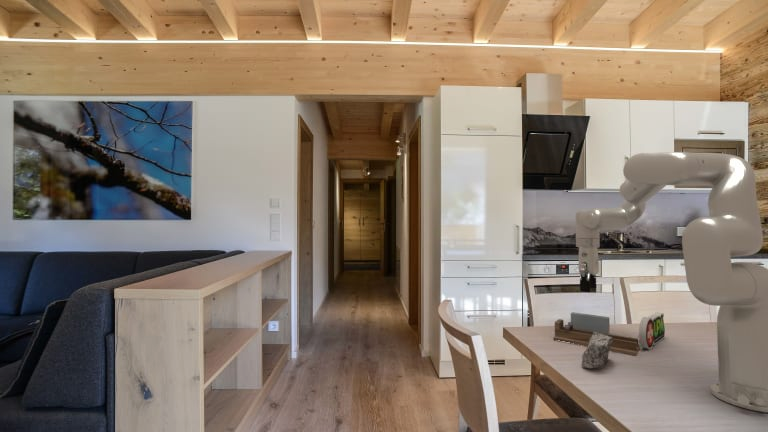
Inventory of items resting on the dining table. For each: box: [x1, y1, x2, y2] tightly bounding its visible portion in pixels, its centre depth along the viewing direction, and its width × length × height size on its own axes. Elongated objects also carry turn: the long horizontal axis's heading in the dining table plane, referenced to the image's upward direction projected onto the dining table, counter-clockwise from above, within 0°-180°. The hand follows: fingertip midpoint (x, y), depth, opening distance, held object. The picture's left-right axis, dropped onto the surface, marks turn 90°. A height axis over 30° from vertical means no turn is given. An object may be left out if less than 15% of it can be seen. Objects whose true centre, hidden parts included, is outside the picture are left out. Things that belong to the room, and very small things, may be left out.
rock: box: [581, 332, 613, 369], centre depth 104 cm, size 16×8×10 cm, turn 128°
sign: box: [638, 311, 666, 350], centre depth 122 cm, size 22×2×10 cm, turn 129°
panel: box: [570, 311, 611, 334], centre depth 130 cm, size 2×12×8 cm, turn 49°
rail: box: [553, 318, 640, 357], centre depth 122 cm, size 9×24×6 cm, turn 49°
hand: (588, 289), depth 131 cm, fingers open, 9 cm apart
